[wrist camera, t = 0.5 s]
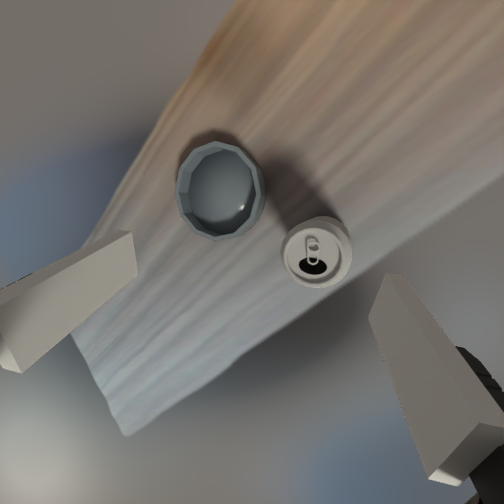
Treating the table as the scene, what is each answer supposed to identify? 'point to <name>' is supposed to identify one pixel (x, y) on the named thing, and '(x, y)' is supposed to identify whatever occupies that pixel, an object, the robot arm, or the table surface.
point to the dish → (220, 191)
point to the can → (317, 252)
